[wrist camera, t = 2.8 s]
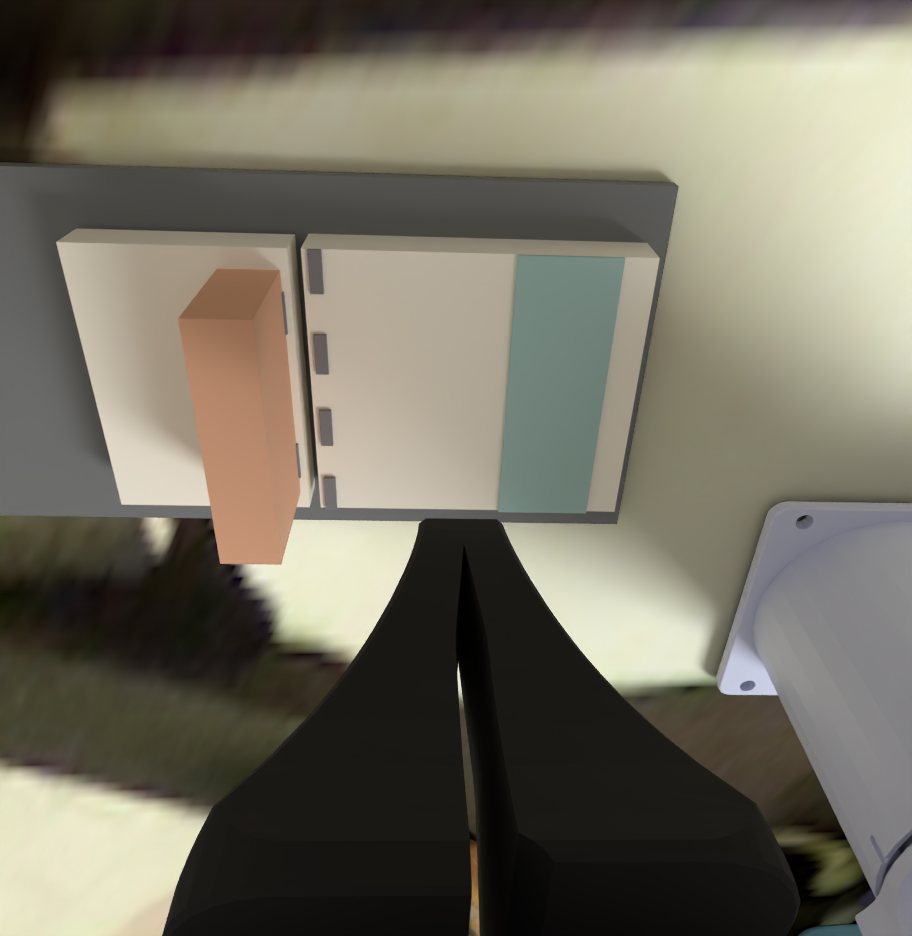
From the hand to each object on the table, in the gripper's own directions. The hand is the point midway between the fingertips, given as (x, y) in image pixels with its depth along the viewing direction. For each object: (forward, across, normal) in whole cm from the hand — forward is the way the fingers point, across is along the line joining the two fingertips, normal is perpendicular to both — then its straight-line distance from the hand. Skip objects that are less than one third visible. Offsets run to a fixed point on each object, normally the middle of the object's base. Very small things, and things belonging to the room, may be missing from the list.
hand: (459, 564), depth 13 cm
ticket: (+8, -1, 0) cm, 8 cm away
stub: (+8, +6, 0) cm, 10 cm away
